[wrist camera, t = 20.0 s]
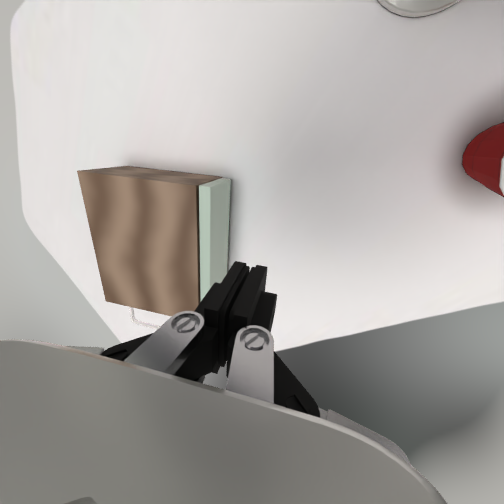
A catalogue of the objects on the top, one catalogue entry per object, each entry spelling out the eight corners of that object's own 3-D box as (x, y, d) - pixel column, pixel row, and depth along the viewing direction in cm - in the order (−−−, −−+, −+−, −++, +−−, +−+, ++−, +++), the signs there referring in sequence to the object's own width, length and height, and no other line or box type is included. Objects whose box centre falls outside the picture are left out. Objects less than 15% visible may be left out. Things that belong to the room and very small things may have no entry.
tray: (230, 179, 34) (210, 187, 27) (226, 295, 42) (209, 324, 35) (130, 167, 36) (89, 172, 30) (145, 279, 45) (115, 302, 38)
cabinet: (222, 176, 35) (195, 185, 27) (219, 290, 43) (198, 322, 35) (126, 165, 38) (77, 170, 30) (141, 274, 46) (105, 301, 38)
